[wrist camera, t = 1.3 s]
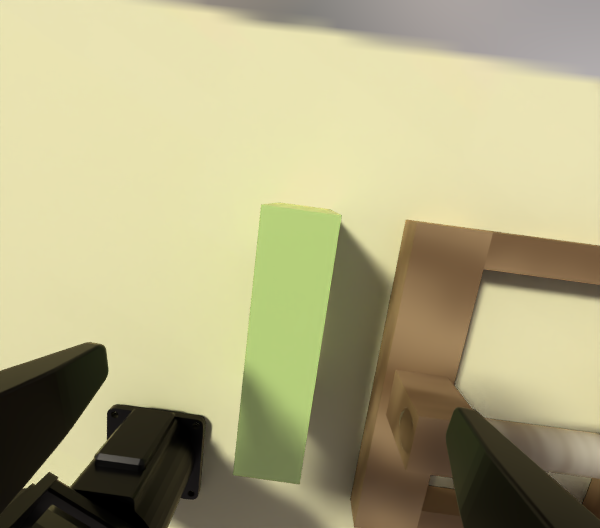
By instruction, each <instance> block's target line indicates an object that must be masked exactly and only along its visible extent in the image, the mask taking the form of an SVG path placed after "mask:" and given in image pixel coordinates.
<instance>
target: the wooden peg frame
mask: <svg viewBox="0 0 600 528" xmlns="http://www.w3.org/2000/svg"><path fill="white" fill-rule="evenodd" d="M484 269H486V270H493V271H500V272H508V273H515V274H523V275H530V276H538V277H545V278H552V279H560V280H567V281H575V282H582V283H589V284H597V285H600V246H598V245H591V244H583V243H576V242H568V241H561V240H553V239H546V238H539V237H531V236H524V235H516V234H509V233H501V232H494V231H486V230H479V229H471V228H464V227H457V226H449V225H442V224H434V223H427V222H419V221H412V220H406V222H405V227H404V232H403V237H402V242H401V247H400V252H399V257H398V262H397V267H396V272H395V277H394V282H393V287H392V292H391V297H390V302H389V307H388V312H387V317H386V322H385V328H384V333H383V338H382V343H381V348H380V353H379V358H378V363H377V368H376V373H375V378H374V383H373V388H372V393H371V398H370V403H369V408H368V413H367V418H366V423H365V428H364V433H363V438H362V443H361V448H360V453H359V458H358V463H357V468H356V473H355V478H354V483H353V488H352V493H351V498H350V500H351V507H352V514H353V522H354V527H355V528H463V524H462V520H461V516H460V513H459V508H458V503H457V498H456V493H455V489H449V488H442V487H435V486H428V483H429V479H430V476H431V475H435V476H442V477H449V478H453V477H452V472H451V467H450V461H449V456H448V451H447V446H446V431H447V428H448V425H449V423H450V420H451V417H452V414H453V411H454V409H455V408H456V407H464V408H469V409H472V408H471V407H470V406H469V404H468V403H467V402H466V401H465V399H464V398H463V397H462V395H461V394H460V393H459V391H458V390H457V389H456V388H455V386H454V382H455V379H456V375H457V371H458V367H459V363H460V359H461V355H462V351H463V348H464V344H465V340H466V336H467V332H468V328H469V324H470V320H471V316H472V313H473V309H474V305H475V301H476V297H477V293H478V289H479V285H480V282H481V278H482V274H483V270H484ZM485 419H486V420H487V421H488V422H489V423H491V424H492V425H493V426H494V427H495V428H496V429H497V430H499V431H500V432H501V433H502V434H503V435H504V436H505V437H506V438H508V439H509V440H510V441H511V442H512V443H513V444H514V445H516V446H517V447H518V448H519V449H520V450H521V451H522V452H523V453H525V454H526V455H527V456H528V457H529V458H530V459H531V460H533V461H534V462H535V463H536V464H537V465H538V466H539V467H540V468H542V469H543V470H544V471H546V472H553V473H560V474H568V475H575V476H582V477H590V478H592V480H591V483H590V486H589V488H588V491H587V493H586V496H585V499H584V501H583V504H582V505H584V506H585V507H586V508H587V509H588V510H589V511H590V512H591V513H593V514H594V515H595V516H596V517H597V518H598V519H599V520H600V434H599V433H591V432H584V431H577V430H569V429H562V428H555V427H547V426H540V425H533V424H525V423H518V422H511V421H503V420H496V419H489V418H485Z"/></svg>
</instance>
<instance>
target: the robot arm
mask: <svg viewBox="0 0 600 528" xmlns="http://www.w3.org/2000/svg"><path fill="white" fill-rule="evenodd" d="M107 375H108V361H107V353H106V348H105V346H104V345H102V344H98V343H92V342H87V343H83V344H80V345H77V346H74V347H71V348H68V349H65V350H62V351H59V352H56V353H53V354H50V355H47V356H44V357H41V358H38V359H35V360H32V361H29V362H26V363H23V364H20V365H17V366H14V367H11V368H8V369H5V370H2V371H0V528H168V526H169V524H170V521H171V519H172V517H173V514H174V512H175V510H176V507H177V505H178V503H179V500H180V498H183V499H196V498H197V497H198V494H199V491H200V485H201V472H202V459H203V447H204V434H205V419H204V418H203V417H202V416H199V415H192V414H184V413H177V412H170V411H163V410H155V409H148V408H141V407H133V406H126V405H119V404H117V405H113V406H112V407H111V408H110V409H109V411H108V413H107V441H106V442H105V444H104V445H103V446H102V447H101V448H100V449H99V451H98V452H97V453H96V454H95V456H94V459H93V460H92V461H91V462H90V464H89V465H88V466H87V467H86V468H85V470H84V471H83V472H82V473H81V474H80V476H79V477H78V478H77V479H76V480H75V482H74V483H73V484H72V485H71V486H70V487H69V486H67V485H65V484H64V483H62V482H61V481H59V480H57V479H58V477H57V476H55V475H54V474H52V473H51V472H49V473H47V474H46V475H45V476H44V477H43V478H42V479H41V480H40V481H39V482H38V483H37V484H36V485H35V484H33V483H32V484H31V485H30V486H29V487H28V488H24V489H23V487H24V486H25V485H26V484H27V482H28V481H29V480H30V479H31V478H32V476H33V475H34V474H35V473H36V472H37V470H38V469H39V468H40V467H41V466H42V464H43V463H44V462H45V461H46V460H47V458H48V457H49V456H50V455H51V454H52V452H53V451H54V450H55V449H56V448H57V446H58V445H59V444H60V443H61V441H62V440H63V439H64V438H65V436H66V435H67V434H68V433H69V431H70V430H71V428H72V427H73V426H74V424H75V423H76V422H77V420H78V419H79V417H80V416H81V414H82V413H83V411H84V410H85V409H86V407H87V406H88V404H89V403H90V401H91V400H92V399H93V397H94V396H95V394H96V393H97V391H98V390H99V388H100V387H101V386H102V384H103V383H104V381H105V380H106V378H107ZM115 412H117V413H118V414H116V413H115ZM195 423H198V424H199V425H196V424H195ZM446 446H447V451H448V456H449V461H450V467H451V472H452V477H453V482H454V488H455V493H456V498H457V503H458V508H459V513H460V516H461V520H462V524H463V528H600V520H599V519H598V518H597V517H596V516H595V515H594V514H593V513H591V512H590V511H589V510H588V509H587V508H586V507H585V506H584V505H582V504H581V503H580V502H579V501H578V500H577V499H576V498H574V497H573V496H572V495H571V494H570V493H569V492H568V491H567V490H565V489H564V488H563V487H562V486H561V485H560V484H559V483H557V482H556V481H555V480H554V479H553V478H552V477H551V476H550V475H548V474H547V473H546V472H545V471H544V470H543V469H542V468H540V467H539V466H538V465H537V464H536V463H535V462H534V461H533V460H531V459H530V458H529V457H528V456H527V455H526V454H525V453H523V452H522V451H521V450H520V449H519V448H518V447H517V446H516V445H514V444H513V443H512V442H511V441H510V440H509V439H508V438H506V437H505V436H504V435H503V434H502V433H501V432H500V431H499V430H497V429H496V428H495V427H494V426H493V425H492V424H491V423H489V422H488V421H487V420H486V419H485V418H484V417H483V416H482V415H480V414H479V413H478V412H477V411H476V410H474V409H469V408H464V407H456V408H455V409H454V411H453V414H452V417H451V420H450V423H449V425H448V428H447V431H446Z"/></svg>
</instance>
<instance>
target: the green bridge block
mask: <svg viewBox="0 0 600 528" xmlns="http://www.w3.org/2000/svg"><path fill="white" fill-rule="evenodd" d="M341 216H342V215H340V214H338V213H336V212H334V211H332V210H330V209H323V208H315V207H308V206H300V205H293V204H285V203H272V204H263V205H261V211H260V221H259V230H258V240H257V250H256V259H255V269H254V278H253V288H252V298H251V307H250V317H249V326H248V336H247V346H246V355H245V365H244V375H243V384H242V394H241V403H240V413H239V423H238V432H237V442H236V451H235V461H234V471H233V475H235V476H243V477H250V478H257V479H264V480H272V481H279V482H286V483H293V484H300V478H301V471H302V465H303V459H304V452H305V446H306V439H307V433H308V427H309V420H310V414H311V407H312V401H313V395H314V388H315V382H316V376H317V369H318V363H319V356H320V350H321V344H322V337H323V331H324V325H325V318H326V312H327V305H328V299H329V293H330V286H331V280H332V274H333V267H334V261H335V254H336V248H337V242H338V235H339V229H340V223H341Z"/></svg>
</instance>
